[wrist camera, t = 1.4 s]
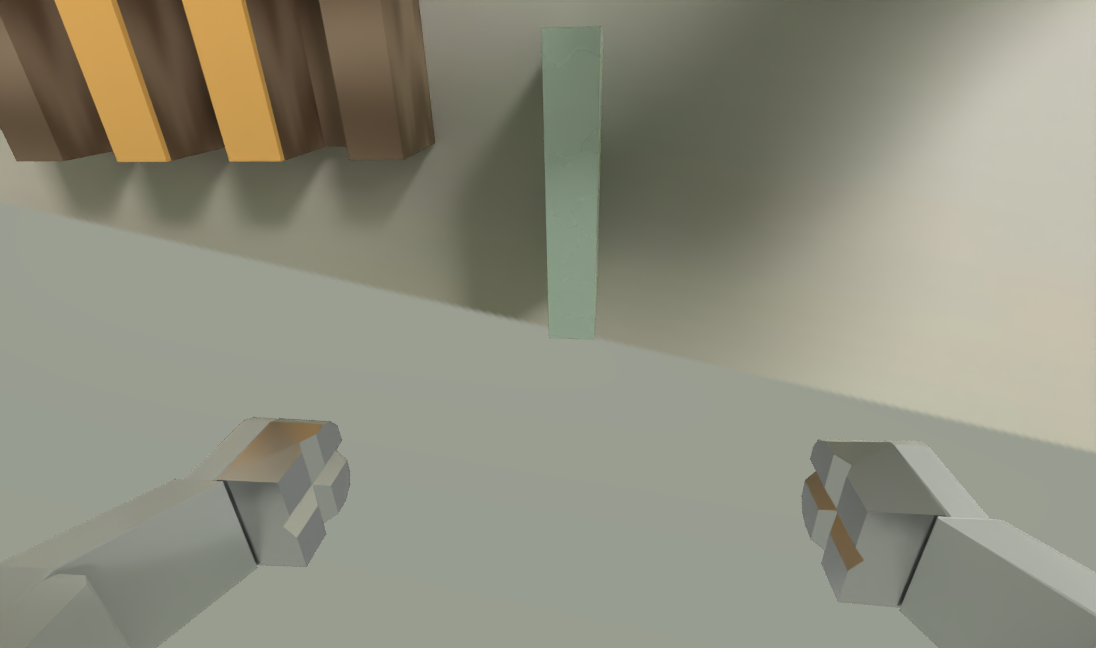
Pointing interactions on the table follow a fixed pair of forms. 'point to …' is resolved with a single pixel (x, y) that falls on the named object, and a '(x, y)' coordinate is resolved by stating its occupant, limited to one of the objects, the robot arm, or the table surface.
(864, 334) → the table surface
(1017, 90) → the table surface
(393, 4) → the rack
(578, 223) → the panel
